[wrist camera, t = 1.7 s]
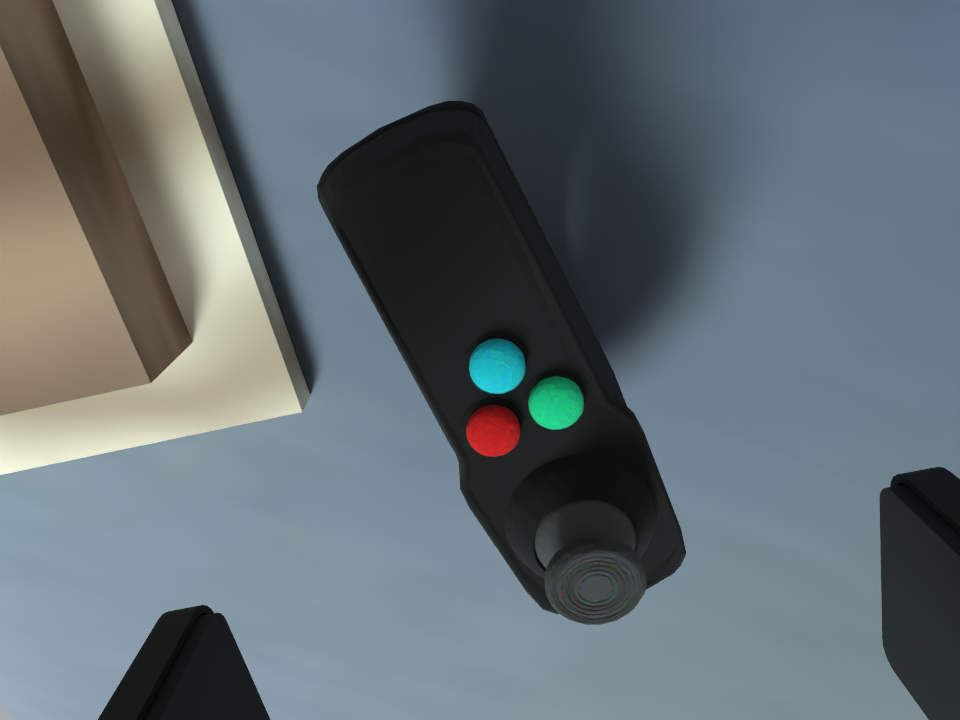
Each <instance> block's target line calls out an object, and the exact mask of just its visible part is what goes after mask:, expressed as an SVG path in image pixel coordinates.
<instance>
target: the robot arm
mask: <svg viewBox="0 0 960 720" xmlns="http://www.w3.org/2000/svg"><path fill="white" fill-rule="evenodd" d="M880 537H881V589H882V639H883V646H884V650H885V654H886V656H887V659H888V661H889V663H890V665H891V667H892V669H893V670H894V672H895V673H896V675H897V676H898V677H899V679H900V680H901V682H902V683H903V684H904V686H905V687H906V688H907V690H908V691H909V693H910V694H911V695H912V697H913V698H914V700H915V701H916V702H917V704H918V705H919V707H920V708H921V709H922V711H923V712H924V714H925V715H926V716H927V718H928V719H929V720H960V479H958V478H957V477H956V476H955V475H953V474H952V473H951V472H950V471H948V470H946V469H945V468H942V467H935V468H930V469H925V470H919V471H914V472H909V473H903V474H898V475H896V476H894V477H893V479H892V481H891V486H890V487H889V488H884V489H883V490H882V491H881V493H880ZM98 720H270V718H269V716H268V713H267V711H266V709H265V707H264V704H263V702H262V700H261V698H260V695H259V693H258V691H257V689H256V686H255V684H254V682H253V680H252V677H251V675H250V673H249V671H248V668H247V666H246V664H245V662H244V659H243V657H242V655H241V653H240V650H239V648H238V646H237V644H236V641H235V639H234V637H233V635H232V632H231V630H230V628H229V626H228V623H227V621H226V619H225V618H224V616H223V615H222V614H221V613H213V611H212V609H211V608H209V607H208V606H205V605H201V606H195V607H190V608H185V609H179V610H174V611H169V612H166V613H164V614H163V615H162V616H161V617H160V618H159V620H158V621H157V623H156V624H155V626H154V628H153V629H152V631H151V633H150V634H149V636H148V638H147V639H146V641H145V643H144V644H143V646H142V648H141V649H140V651H139V653H138V654H137V656H136V658H135V659H134V661H133V662H132V664H131V666H130V667H129V669H128V671H127V672H126V674H125V676H124V677H123V679H122V681H121V682H120V684H119V686H118V687H117V689H116V691H115V692H114V694H113V696H112V697H111V699H110V700H109V702H108V704H107V705H106V707H105V709H104V710H103V712H102V714H101V715H100V717H99V719H98Z"/></svg>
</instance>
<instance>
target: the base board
mask: <svg viewBox="0 0 960 720" xmlns="http://www.w3.org/2000/svg"><path fill="white" fill-rule="evenodd" d="M309 397H310V393H309V390H308V387H307V385H306V382H305V379H304V376H303V373H302V370H301V368H300V365H299V362H298V359H297V356H296V353H295V350H294V348H293V345H292V342H291V339H290V336H289V333H288V331H287V328H286V325H285V322H284V319H283V316H282V313H281V311H280V308H279V305H278V302H277V299H276V296H275V294H274V291H273V288H272V285H271V282H270V279H269V277H268V274H267V271H266V268H265V265H264V262H263V259H262V257H261V254H260V251H259V248H258V245H257V242H256V240H255V237H254V234H253V231H252V228H251V225H250V222H249V220H248V217H247V214H246V211H245V208H244V205H243V203H242V200H241V197H240V194H239V191H238V188H237V186H236V183H235V180H234V177H233V174H232V171H231V168H230V166H229V163H228V160H227V157H226V154H225V151H224V149H223V146H222V143H221V140H220V137H219V134H218V132H217V129H216V126H215V123H214V120H213V117H212V114H211V112H210V109H209V106H208V103H207V100H206V97H205V95H204V92H203V89H202V86H201V83H200V80H199V77H198V75H197V72H196V69H195V66H194V63H193V60H192V58H191V55H190V52H189V49H188V46H187V43H186V41H185V38H184V35H183V32H182V29H181V26H180V23H179V21H178V18H177V15H176V12H175V9H174V6H173V4H172V1H171V0H0V475H2V474H7V473H11V472H16V471H21V470H26V469H31V468H35V467H40V466H45V465H50V464H55V463H59V462H64V461H69V460H74V459H79V458H83V457H88V456H93V455H98V454H103V453H107V452H112V451H117V450H122V449H126V448H131V447H136V446H141V445H146V444H150V443H155V442H160V441H165V440H170V439H174V438H179V437H184V436H189V435H194V434H198V433H203V432H208V431H213V430H218V429H222V428H227V427H232V426H237V425H242V424H246V423H251V422H256V421H261V420H266V419H270V418H275V417H280V416H285V415H290V414H294V413H299V412H302V411H303V409H304V407H305V405H306V403H307V401H308V399H309Z"/></svg>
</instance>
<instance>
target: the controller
mask: <svg viewBox="0 0 960 720" xmlns="http://www.w3.org/2000/svg"><path fill="white" fill-rule="evenodd" d="M317 192H318V198H319V202H320V203H321V206H322V208H323V210H324V212H325V214H326V216H327V218H328V220H329V221H330V223H331V225H332V227H333V229H334V231H335V233H336V235H337V237H338V238H339V240H340V242H341V244H342V246H343V248H344V250H345V252H346V254H347V255H348V257H349V259H350V261H351V263H352V265H353V267H354V268H355V270H356V272H357V274H358V276H359V278H360V279H361V281H362V283H363V285H364V287H365V289H366V291H367V292H368V294H369V296H370V298H371V300H372V302H373V303H374V305H375V307H376V309H377V311H378V313H379V314H380V316H381V318H382V320H383V322H384V324H385V326H386V327H387V329H388V331H389V333H390V335H391V337H392V338H393V340H394V342H395V344H396V346H397V348H398V349H399V351H400V353H401V355H402V357H403V359H404V361H405V362H406V364H407V366H408V368H409V370H410V372H411V373H412V375H413V377H414V379H415V381H416V383H417V385H418V386H419V388H420V390H421V392H422V394H423V396H424V397H425V399H426V401H427V403H428V405H429V407H430V408H431V410H432V412H433V414H434V416H435V418H436V420H437V421H438V423H439V425H440V427H441V429H442V431H443V432H444V434H445V436H446V438H447V440H448V442H449V443H450V445H451V447H452V448H453V450H454V452H455V453H456V456H457V459H458V461H459V472H460V489H461V491H462V493H463V495H464V497H465V499H466V501H467V503H468V506H469V508H470V509H471V511H472V512H473V514H474V515H475V516H476V518H477V519H478V521H479V522H480V524H481V525H482V527H483V528H484V530H485V531H486V533H487V534H488V536H489V537H490V539H491V540H492V542H493V543H494V545H495V546H496V547H497V549H498V550H499V552H500V553H501V555H502V556H503V558H504V559H505V561H506V562H507V564H508V565H509V567H510V568H511V570H512V571H513V573H514V574H515V575H516V577H517V578H518V580H519V581H520V583H521V584H522V586H523V587H524V589H525V590H526V592H527V593H528V594H529V595H530V596H531V597H532V598H533V599H534V600H535V601H536V602H537V603H538V605H539V606H540V607H541V608H542V609H543V610H546V611H549V612H552V613H555V614H561V615H562V616H564V617H566V618H567V619H569V620H572V621H575V622H579V623H583V624H604V623H608V622H613V621H617V620H618V619H620V618H621V617H623V616H625V615H626V614H628V613H629V612H631V611H632V610H633V609H634V608H635V607H636V605H637V604H638V602H639V601H640V599H641V598H642V596H643V595H644V593H645V590H646V589H648V588H650V587H651V586H653V585H655V584H656V583H658V582H660V581H661V580H663V579H665V578H667V577H668V576H670V575H672V574H673V573H674V572H675V571H676V570H677V569H678V568H679V567H680V566H681V564H682V562H683V559H684V557H685V555H686V550H685V546H684V541H683V536H682V531H681V528H680V525H679V523H678V520H677V518H676V515H675V512H674V510H673V507H672V505H671V502H670V499H669V497H668V494H667V492H666V489H665V486H664V484H663V481H662V478H661V476H660V473H659V471H658V468H657V465H656V463H655V460H654V458H653V455H652V452H651V450H650V447H649V445H648V442H647V439H646V437H645V434H644V431H643V430H642V428H641V426H640V424H639V422H638V420H637V418H636V416H635V415H634V413H633V412H632V411H631V410H630V409H629V408H628V407H627V405H626V403H625V400H624V398H623V395H622V392H621V390H620V387H619V385H618V382H617V379H616V377H615V375H614V372H613V370H612V368H611V366H610V364H609V362H608V360H607V358H606V356H605V354H604V352H603V350H602V348H601V346H600V344H599V342H598V340H597V338H596V336H595V334H594V332H593V330H592V328H591V326H590V324H589V322H588V320H587V318H586V316H585V314H584V312H583V310H582V308H581V306H580V304H579V302H578V300H577V298H576V296H575V294H574V292H573V290H572V288H571V286H570V284H569V282H568V280H567V279H566V277H565V275H564V273H563V271H562V269H561V267H560V265H559V263H558V261H557V259H556V257H555V255H554V253H553V251H552V249H551V247H550V245H549V243H548V241H547V239H546V237H545V235H544V233H543V231H542V229H541V227H540V225H539V223H538V221H537V219H536V217H535V215H534V213H533V211H532V209H531V207H530V205H529V203H528V201H527V199H526V197H525V195H524V193H523V191H522V189H521V187H520V185H519V183H518V181H517V179H516V177H515V175H514V173H513V171H512V169H511V167H510V165H509V163H508V161H507V159H506V157H505V156H504V154H503V152H502V150H501V148H500V146H499V144H498V142H497V140H496V138H495V136H494V134H493V132H492V130H491V128H490V126H489V124H488V122H487V120H486V118H485V116H484V114H483V112H482V110H481V109H479V108H478V107H476V106H475V105H474V104H471V103H467V102H462V101H447V102H443V103H439V104H435V105H431V106H428V107H426V108H424V109H421V110H419V111H417V112H415V113H412V114H410V115H408V116H406V117H404V118H401V119H399V120H397V121H395V122H392V123H390V124H388V125H386V126H383V127H381V128H379V129H377V130H376V131H374V132H373V133H371V134H370V135H368V136H367V137H365V138H364V139H362V140H361V141H359V142H357V143H356V144H354V145H353V146H351V147H350V148H348V149H347V150H345V151H344V152H342V153H341V154H340V155H339V156H338V157H337V158H336V159H334V160H333V161H332V162H331V163H330V164H329V165H328V166H327V168H326V169H325V170H324V172H323V173H322V176H321V178H320V180H319V183H318V185H317Z"/></svg>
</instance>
